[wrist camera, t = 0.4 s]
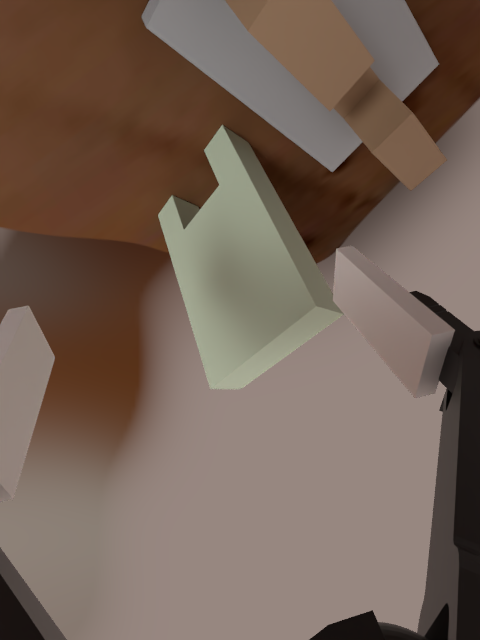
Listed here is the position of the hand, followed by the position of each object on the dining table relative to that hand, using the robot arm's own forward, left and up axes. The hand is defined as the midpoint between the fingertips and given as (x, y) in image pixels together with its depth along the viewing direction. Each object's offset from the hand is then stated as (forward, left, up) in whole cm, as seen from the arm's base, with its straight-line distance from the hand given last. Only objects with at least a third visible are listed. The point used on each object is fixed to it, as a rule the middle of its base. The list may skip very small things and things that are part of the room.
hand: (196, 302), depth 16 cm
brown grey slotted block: (-1, +13, -18) cm, 22 cm away
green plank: (+9, +4, -18) cm, 20 cm away
